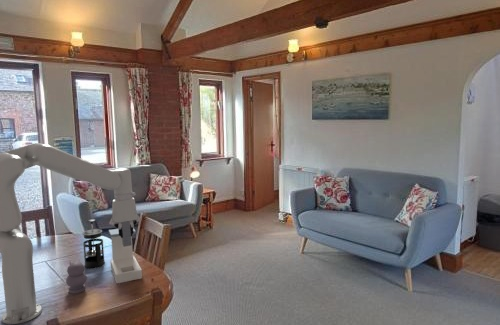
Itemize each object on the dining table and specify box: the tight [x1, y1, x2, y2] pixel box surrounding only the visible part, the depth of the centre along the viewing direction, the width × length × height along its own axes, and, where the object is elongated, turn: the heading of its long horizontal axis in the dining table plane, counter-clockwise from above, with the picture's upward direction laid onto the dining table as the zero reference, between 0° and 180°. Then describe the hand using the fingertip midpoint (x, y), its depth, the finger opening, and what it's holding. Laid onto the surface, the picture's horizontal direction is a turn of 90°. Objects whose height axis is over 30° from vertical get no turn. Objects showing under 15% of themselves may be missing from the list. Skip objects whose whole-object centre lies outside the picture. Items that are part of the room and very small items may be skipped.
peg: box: [121, 221, 133, 247], centre depth 164 cm, size 3×3×12 cm
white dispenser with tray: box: [108, 227, 143, 284], centre depth 170 cm, size 19×11×19 cm, turn 27°
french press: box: [82, 218, 106, 270], centre depth 178 cm, size 12×9×23 cm
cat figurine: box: [65, 260, 88, 294], centre depth 154 cm, size 8×8×12 cm
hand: (126, 235), depth 164 cm, fingers closed on peg, 3 cm apart
